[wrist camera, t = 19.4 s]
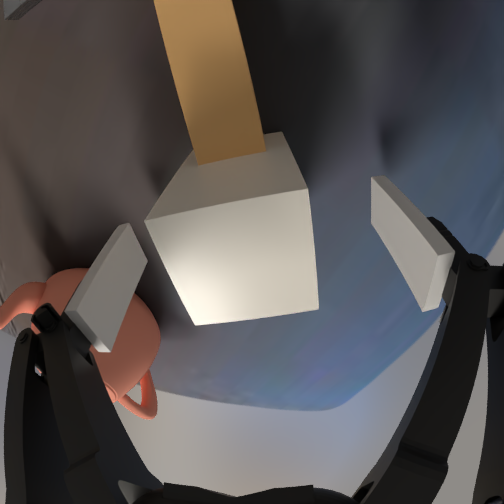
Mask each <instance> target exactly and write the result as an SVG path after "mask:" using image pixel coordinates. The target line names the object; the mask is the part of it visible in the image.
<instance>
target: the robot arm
mask: <svg viewBox="0 0 504 504" xmlns="http://www.w3.org/2000/svg"><path fill="white" fill-rule="evenodd" d="M371 224H372V225H373V227H374V228H375V230H376V231H377V233H378V234H379V236H380V238H381V239H382V241H383V242H384V244H385V246H386V247H387V249H388V251H389V252H390V254H391V256H392V257H393V259H394V261H395V262H396V264H397V266H398V267H399V269H400V271H401V273H402V274H403V276H404V278H405V280H406V282H407V283H408V285H409V287H410V289H411V291H412V293H413V294H414V296H415V298H416V300H417V302H418V304H419V306H420V308H421V310H422V312H424V311H428V310H431V309H435V308H438V306H439V304H440V301H441V298H442V297H443V299H444V301H445V303H446V306H445V308H444V311H443V314H442V316H441V319H440V321H439V322H440V325H439V329H438V332H437V335H436V338H435V341H434V344H433V347H432V350H431V353H430V356H429V358H428V361H427V364H426V366H425V369H424V371H423V374H422V376H421V379H420V381H419V383H418V386H417V388H416V390H415V393H414V395H413V397H412V400H411V402H410V404H409V406H408V408H407V410H406V412H405V414H404V416H403V418H402V420H401V422H400V424H399V426H398V428H397V429H396V431H395V433H394V435H393V437H392V439H391V440H390V442H389V444H388V446H387V447H386V449H385V451H384V452H383V454H382V456H381V457H380V459H379V460H378V462H377V464H376V465H375V466H374V467H373V469H372V470H371V471H370V473H369V474H368V475H367V477H366V478H365V479H364V481H363V482H362V484H361V485H360V486H359V488H358V489H357V490H356V492H355V493H354V495H353V496H352V497H351V498H350V497H348V496H346V495H344V494H342V493H339V492H336V491H333V490H328V489H323V488H313V485H306V486H298V487H286V488H273V489H269V490H266V491H262V492H257V493H253V494H249V495H244V496H239V497H235V496H231V495H227V494H224V493H219V492H215V491H211V490H207V489H203V488H200V487H195V486H186V485H178V484H171V483H164V485H163V484H162V483H161V482H160V481H159V480H158V479H157V478H156V477H155V476H153V475H152V474H151V473H150V472H149V471H148V469H147V468H146V466H145V464H144V463H143V461H142V460H141V458H140V456H139V454H138V452H137V451H136V449H135V447H134V446H133V443H132V442H131V440H130V438H129V436H128V434H127V432H126V430H125V428H124V426H123V424H122V422H121V420H120V418H119V416H118V414H117V412H116V410H115V407H114V405H113V403H112V401H111V398H110V396H109V394H108V391H107V389H106V387H105V384H104V382H103V379H102V377H101V374H100V371H99V369H98V366H97V363H96V361H95V358H94V355H93V354H92V352H91V351H90V350H89V349H90V347H91V344H92V345H93V346H94V347H95V348H96V350H97V351H98V352H111V351H112V348H113V345H114V342H115V340H116V337H117V334H118V332H119V329H120V326H121V324H122V321H123V319H124V316H125V314H126V311H127V309H128V306H129V304H130V301H131V299H132V296H133V294H134V292H135V289H136V287H137V285H138V282H139V280H140V278H141V275H142V273H143V271H144V269H145V266H146V264H147V262H148V260H147V258H146V256H145V254H144V252H143V250H142V248H141V246H140V244H139V242H138V240H137V238H136V236H135V234H134V232H133V229H132V227H131V225H130V223H125V224H122V225H118V227H117V228H116V230H115V231H114V232H113V234H112V235H111V237H110V238H109V240H108V241H107V243H106V244H105V245H104V247H103V248H102V250H101V251H100V253H99V254H98V256H97V258H96V259H95V261H94V262H93V264H92V265H91V267H90V268H89V270H88V272H87V273H86V275H85V276H84V278H83V280H82V281H81V282H80V283H79V284H78V286H77V288H76V289H75V292H74V293H73V294H72V296H71V297H72V298H70V300H69V301H68V303H67V305H66V307H65V309H64V310H63V312H62V314H61V316H60V315H59V314H58V312H57V311H56V310H55V309H54V307H53V306H52V305H51V304H50V303H45V304H43V305H41V306H40V307H39V308H38V309H37V310H36V311H35V312H34V314H33V316H32V318H31V322H32V323H33V324H34V325H35V326H36V328H37V329H38V330H39V331H40V332H41V333H39V334H35V332H34V331H33V330H32V329H31V328H26V329H24V330H23V331H21V333H19V336H18V337H17V339H16V342H15V347H14V352H13V357H12V362H11V368H10V374H9V381H8V388H7V397H6V408H5V423H4V465H5V478H6V488H7V489H6V502H5V504H432V502H433V500H434V499H435V497H436V495H437V493H438V491H439V490H440V488H441V486H442V484H443V482H444V480H445V477H446V475H447V472H448V463H447V460H448V456H449V453H450V451H451V449H452V447H453V444H454V442H455V439H456V437H457V434H458V431H459V429H460V426H461V424H462V421H463V418H464V415H465V412H466V409H467V406H468V403H469V400H470V397H471V393H472V390H473V386H474V382H475V378H476V375H477V370H478V366H479V362H480V357H481V352H482V347H483V341H484V334H485V329H486V335H487V351H488V400H487V415H486V426H485V434H484V441H483V448H482V454H481V460H480V465H479V469H478V474H477V479H476V484H475V488H474V493H473V501H472V504H504V264H503V266H490V265H489V263H488V262H487V260H485V259H484V258H483V257H481V256H479V255H477V254H472V253H470V254H469V253H468V252H467V251H466V250H465V248H464V247H463V246H462V245H461V244H460V243H459V241H458V240H457V239H456V238H455V237H454V236H452V233H451V232H450V231H449V230H447V228H446V227H445V226H444V225H443V223H442V222H440V221H439V220H437V219H435V218H434V217H427V218H426V217H425V216H424V215H423V214H422V213H421V212H420V210H419V209H418V208H417V207H416V206H415V205H414V204H413V203H412V202H411V201H410V200H409V199H408V198H407V197H406V196H405V195H404V194H403V193H402V192H401V191H400V190H399V189H398V188H397V187H396V186H395V185H394V184H393V183H392V182H391V181H390V180H389V179H388V178H387V177H386V176H385V175H383V176H374V177H371ZM35 367H37V369H39V370H40V371H41V376H39V375H38V374H37V373H36V372H35Z"/></svg>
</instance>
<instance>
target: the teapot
mask: <svg viewBox="0 0 504 504" xmlns="http://www.w3.org/2000/svg"><path fill="white" fill-rule="evenodd" d="M88 270H89V268H73V269H67V270H63V271H60V272H58V273H56V274H54V275H53V276H51V277H50V278H49V279H48V280H47V281H46V282H45V283H42V282H29V283H26V284H23V285H21V286H20V287H19V288H17V289H16V290H15V291H14V292H13V293H12V294H11V295H10V296H9V297H8V299H7V300H6V301H5V302H4V303H3V304H2V306H1V307H0V329H2V328H3V327H4V326H6V325H7V324H8V323H9V322H10V320H11V319H12V318H13V317H14V316H16V315H17V314H20V313H31V314H34V312H35V311H36V310H37V309H38V308H39V307H40V306H41V305H43V304H45V303H50V304H51V305H52V306H53V307H54V309H55V310H56V311H57V312H58V314H59V315H60V316H61V314H62V312H63V310H64V309H65V307H66V305H67V303H68V301H69V300H70V298H72V297H71V296H72V294H73V293H74V292H75V289H76V288H77V286H78V284H79V283H80V282H81V281H82V280H83V278H84V276H85V275H86V273H87V272H88ZM31 329H32V330H33V331H34V332H35V334H39V333H41V332H40V331H39V330H38V329H37V328H36V326H35V325H34V324H33V323H32V328H31ZM160 341H161V337H160V330H159V326H158V324H157V322H156V320H155V318H154V316H153V314H152V312H151V311H150V309H149V308H148V306H147V305H146V304H145V303H144V302H143V300H142V299H141V298H140V297H138V296H137V295H136V294H135V293H134V294H133V296H132V299H131V301H130V304H129V306H128V309H127V311H126V314H125V316H124V319H123V321H122V324H121V326H120V329H119V332H118V334H117V337H116V340H115V342H114V345H113V348H112V351H111V352H98V351H97V350H96V348H95V347H94V346H93V345H92V344H91V347H90V349H89V350H90V351H91V352H92V354H93V355H94V358H95V361H96V363H97V366H98V369H99V371H100V374H101V377H102V379H103V382H104V384H105V387H106V389H107V391H108V394H109V396H110V398H111V401H112V403H114V402H116V401H118V402H120V403H121V404H122V405H123V406H124V407H125V408H127V409H128V410H129V411H131V412H132V413H134V414H135V415H137V416H139V417H141V418H143V419H153V418H154V417H155V416H156V414H157V396H156V392H155V388H154V384H153V380H152V377H151V373H150V370H149V368H150V366H151V365H152V363H153V361H154V359H155V357H156V355H157V352H158V349H159V346H160ZM38 371H39V372H40V373H41V371H40V370H39V369H38ZM139 381H140V384H141V390H142V402H141V405H139V404H137V403H136V402H134V401H133V400H132V399H131V398H130V397H129V396H127V395H126V393H127V392H128V391H130V390H131V389H132V388H133V387H134V386H135V385H136V384H137V383H138V382H139Z"/></svg>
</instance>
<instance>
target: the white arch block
mask: <svg viewBox="0 0 504 504" xmlns="http://www.w3.org/2000/svg"><path fill="white" fill-rule="evenodd" d="M40 1H42V0H4V17H5V20H19V19H20V18H21V17H22V16H23V15H24V14H26V13H27V12H28V11H29V10H30V9H32V8H33V7H34V6H35V5H36V4H38V3H39V2H40Z"/></svg>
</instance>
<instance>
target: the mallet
mask: <svg viewBox="0 0 504 504" xmlns="http://www.w3.org/2000/svg"><path fill="white" fill-rule="evenodd" d="M154 4H155V8H156V12H157V16H158V20H159V24H160V28H161V32H162V36H163V40H164V44H165V48H166V52H167V55H168V59H169V63H170V67H171V71H172V74H173V78H174V82H175V85H176V89H177V93H178V96H179V100H180V104H181V107H182V111H183V114H184V118H185V121H186V125H187V128H188V132H189V135H190V139H191V142H192V146H193V149H194V150H192V151H191V153H190V154H189V156H188V157H187V158H186V160H185V161H184V162H183V164H182V165H181V167H180V168H179V169H178V171H177V172H176V174H175V175H174V176H173V178H172V179H171V181H170V182H169V184H168V185H167V187H166V188H165V190H164V191H163V193H162V194H161V196H160V197H159V199H158V200H157V202H156V203H155V205H154V206H153V208H152V209H151V211H150V212H149V214H148V216H147V217H146V219H145V220H144V222H145V224H146V226H147V229H148V231H149V233H150V235H151V238H152V240H153V242H154V244H155V246H156V249H157V251H158V253H159V255H160V257H161V259H162V261H163V264H164V266H165V268H166V270H167V272H168V274H169V276H170V278H171V280H172V282H173V284H174V286H175V288H176V290H177V292H178V294H179V296H180V298H181V300H182V302H183V304H184V306H185V307H186V309H187V311H188V313H189V315H190V317H191V319H192V321H193V322H194V324H195V325H205V324H215V323H224V322H233V321H241V320H249V319H257V318H264V317H272V316H279V315H285V314H292V313H298V312H305V311H311V310H317V309H319V304H318V288H317V274H316V261H315V250H314V239H313V229H312V219H311V210H310V202H309V193H308V188H307V185H306V183H305V181H304V179H303V176H302V174H301V172H300V170H299V167H298V165H297V163H296V161H295V158H294V156H293V154H292V152H291V150H290V148H289V146H288V143H287V141H286V139H285V137H284V135H283V133H282V131H281V132H275V133H269V134H264V135H263V130H262V125H261V120H260V116H259V111H258V106H257V102H256V97H255V93H254V88H253V84H252V79H251V75H250V71H249V66H248V62H247V58H246V54H245V49H244V45H243V41H242V37H241V33H240V29H239V25H238V21H237V17H236V13H235V10H234V6H233V2H232V0H154Z"/></svg>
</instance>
